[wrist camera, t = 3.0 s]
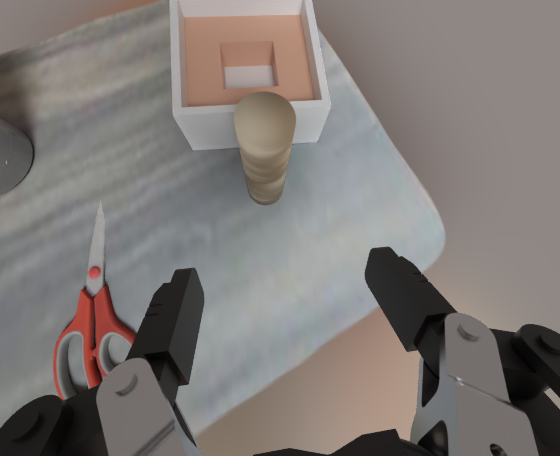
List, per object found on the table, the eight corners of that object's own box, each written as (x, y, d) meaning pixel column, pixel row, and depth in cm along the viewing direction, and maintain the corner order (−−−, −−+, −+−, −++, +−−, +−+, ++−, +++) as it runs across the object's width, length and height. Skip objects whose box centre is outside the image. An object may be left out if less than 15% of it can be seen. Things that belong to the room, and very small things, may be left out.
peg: (250, 206, 25) (236, 148, 14) (247, 174, 26) (231, 92, 14) (284, 203, 26) (300, 144, 14) (280, 171, 26) (291, 89, 15)
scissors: (111, 185, 25) (102, 180, 24) (153, 377, 22) (145, 384, 20) (39, 205, 24) (25, 201, 23) (70, 408, 21) (56, 418, 20)
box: (193, 150, 26) (172, 115, 20) (188, 46, 29) (169, -11, 23) (317, 141, 28) (331, 106, 22) (301, 43, 30) (309, -12, 25)
